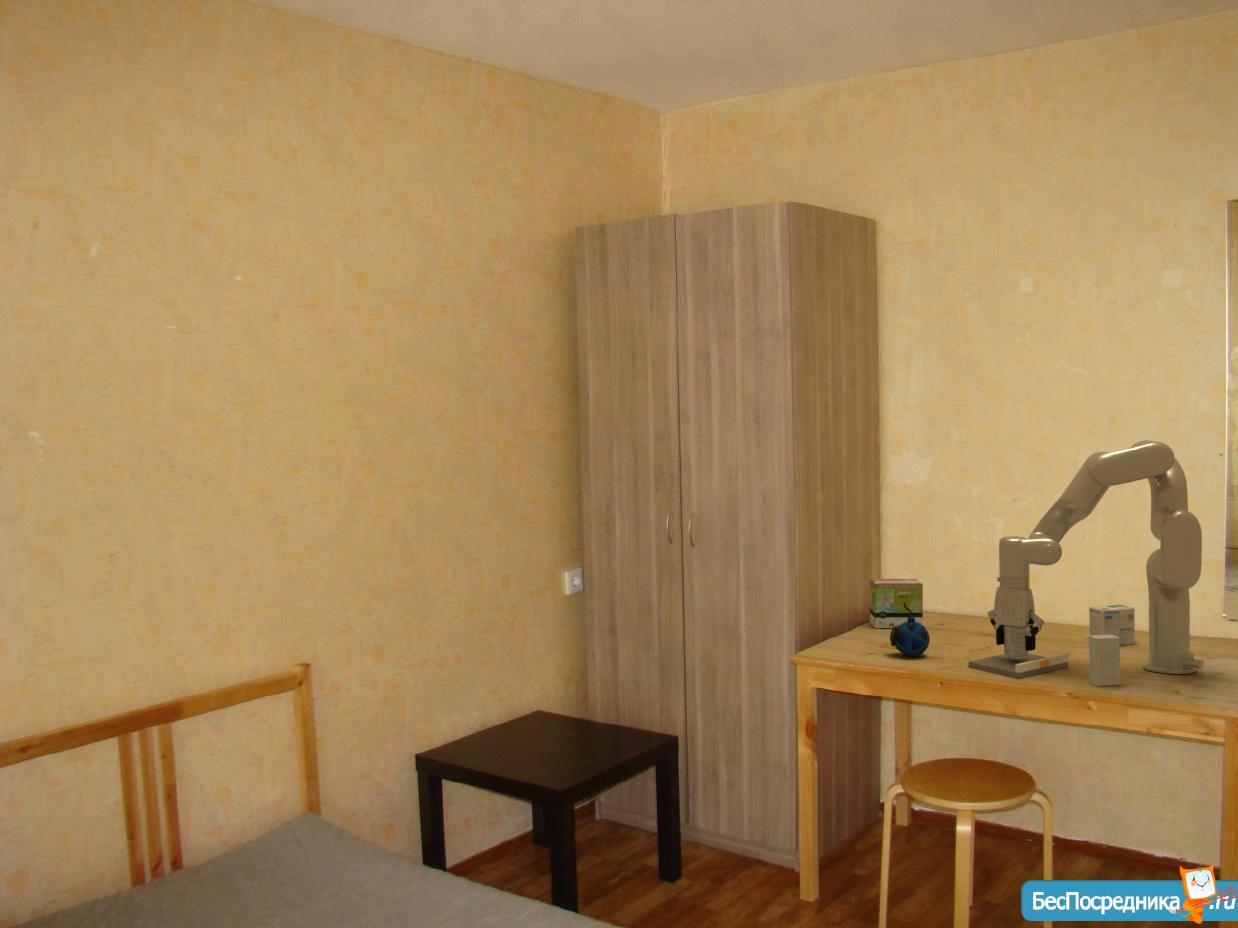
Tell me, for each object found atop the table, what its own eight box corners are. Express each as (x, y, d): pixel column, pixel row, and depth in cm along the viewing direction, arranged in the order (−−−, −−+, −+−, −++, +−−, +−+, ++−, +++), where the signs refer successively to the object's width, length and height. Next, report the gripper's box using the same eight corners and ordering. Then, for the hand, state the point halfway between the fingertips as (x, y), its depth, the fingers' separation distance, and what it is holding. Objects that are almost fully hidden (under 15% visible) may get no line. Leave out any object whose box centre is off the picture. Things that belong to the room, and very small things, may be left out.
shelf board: (1070, 667, 286) (1070, 654, 286) (1020, 679, 276) (1020, 665, 276) (1017, 656, 301) (1017, 643, 300) (968, 667, 290) (968, 654, 290)
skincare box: (1112, 681, 271) (1112, 633, 271) (1120, 685, 267) (1120, 637, 267) (1088, 682, 271) (1088, 634, 271) (1096, 686, 267) (1096, 638, 266)
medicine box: (1028, 659, 285) (1027, 627, 285) (1010, 659, 286) (1009, 627, 285) (1020, 653, 293) (1020, 621, 292) (1003, 653, 293) (1003, 621, 293)
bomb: (890, 651, 311) (889, 599, 311) (929, 652, 308) (928, 600, 308) (889, 659, 302) (888, 605, 301) (930, 660, 299) (929, 606, 298)
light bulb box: (1119, 639, 318) (1119, 603, 317) (1136, 644, 311) (1135, 607, 311) (1088, 642, 315) (1088, 606, 315) (1104, 647, 309) (1104, 610, 308)
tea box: (875, 629, 342) (875, 583, 342) (869, 623, 352) (868, 578, 352) (923, 628, 342) (923, 582, 341) (916, 622, 352) (915, 577, 351)
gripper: (978, 580, 294) (979, 643, 295) (1033, 588, 279) (1034, 654, 280) (997, 577, 298) (998, 640, 298) (1051, 585, 283) (1052, 650, 284)
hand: (1015, 647), depth 289 cm, fingers closed on medicine box, 8 cm apart
